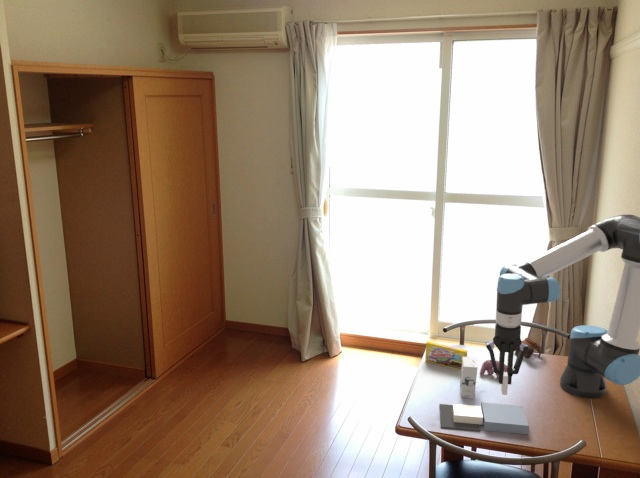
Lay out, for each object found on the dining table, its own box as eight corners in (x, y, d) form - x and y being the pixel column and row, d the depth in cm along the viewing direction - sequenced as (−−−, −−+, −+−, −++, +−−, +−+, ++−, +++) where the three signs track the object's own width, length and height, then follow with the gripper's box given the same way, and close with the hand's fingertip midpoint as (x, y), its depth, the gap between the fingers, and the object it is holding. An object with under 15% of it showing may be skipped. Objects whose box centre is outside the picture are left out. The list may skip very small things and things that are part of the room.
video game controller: (507, 382, 214) (510, 364, 215) (505, 382, 210) (508, 363, 211) (481, 376, 219) (484, 358, 220) (478, 375, 215) (481, 357, 216)
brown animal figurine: (511, 351, 238) (522, 334, 237) (532, 363, 236) (543, 346, 235) (514, 356, 226) (525, 338, 226) (536, 369, 224) (548, 351, 224)
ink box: (459, 385, 209) (461, 355, 206) (474, 386, 208) (476, 357, 205) (460, 397, 200) (462, 366, 198) (475, 398, 199) (477, 367, 197)
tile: (480, 413, 189) (480, 406, 189) (482, 424, 183) (483, 417, 182) (452, 410, 191) (453, 403, 190) (453, 421, 184) (454, 414, 184)
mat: (475, 408, 193) (476, 407, 193) (479, 431, 180) (479, 430, 180) (439, 405, 195) (439, 403, 195) (440, 427, 182) (440, 426, 182)
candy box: (424, 361, 228) (425, 342, 226) (426, 359, 229) (427, 340, 227) (464, 371, 219) (466, 351, 217) (466, 369, 221) (467, 349, 219)
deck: (521, 413, 190) (522, 405, 189) (527, 434, 178) (528, 425, 178) (480, 410, 192) (481, 402, 191) (484, 430, 181) (485, 421, 180)
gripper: (487, 327, 175) (484, 397, 181) (532, 329, 173) (527, 400, 178) (485, 318, 182) (481, 385, 188) (528, 320, 180) (523, 388, 185)
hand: (504, 392), depth 183 cm, fingers closed
